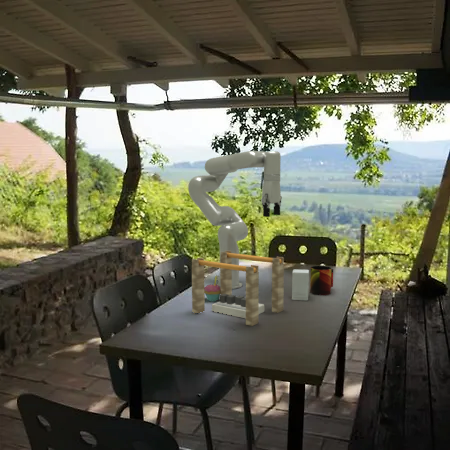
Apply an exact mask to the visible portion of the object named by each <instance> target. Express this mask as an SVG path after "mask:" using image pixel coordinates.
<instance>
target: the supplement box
mask: <svg viewBox="0 0 450 450" xmlns="http://www.w3.org/2000/svg"><path fill="white" fill-rule="evenodd" d="M291 280H292V281H291V284H292V285H291V300H293V301H309V293H310V292H309V291H310V285H309V284H310V270H309V269H297V268H296V269H294V268H293V270H292V278H291Z"/></svg>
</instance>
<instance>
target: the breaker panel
mask: <svg viewBox="0 0 450 450" xmlns="http://www.w3.org/2000/svg"><path fill="white" fill-rule="evenodd" d="M211 306H212V307H211V312H212V311H214V312H213V313H217V312H219V313H218V314H222V313H223V315H226V314H227V315H228V316H231V315H232V316H231V317H236V318H237V317H238V318H243V319H246V297H245V296H244V295H237V296H236V295H233V294H232V295H229V294H222V295H221V294H220V296H219V301H216V302H215V303H212V305H211ZM262 313H265V304H264V303H259V315H261V314H262Z"/></svg>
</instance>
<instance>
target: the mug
mask: <svg viewBox="0 0 450 450" xmlns="http://www.w3.org/2000/svg"><path fill="white" fill-rule="evenodd" d="M309 284H310V285H309V291H310V292H309V293H310V294H311V295H314V296H329V295H331V293H332V291H331V290H332V288H334V269H333V268H332V267H330V266H328V265H313V266H311V267H310V270H309Z"/></svg>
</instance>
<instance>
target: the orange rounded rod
mask: <svg viewBox="0 0 450 450" xmlns="http://www.w3.org/2000/svg"><path fill="white" fill-rule="evenodd" d="M199 265H203V266H204V267H211V268H219V269H220V268H224V269H231V270H238V271H239V272H245V273H246V267H247V265H240V264H239V265H233V264H225V263H220V262H218V261H217V262H216V261H209V260H204V261H203V260H199ZM254 272H256V268H254Z"/></svg>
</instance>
